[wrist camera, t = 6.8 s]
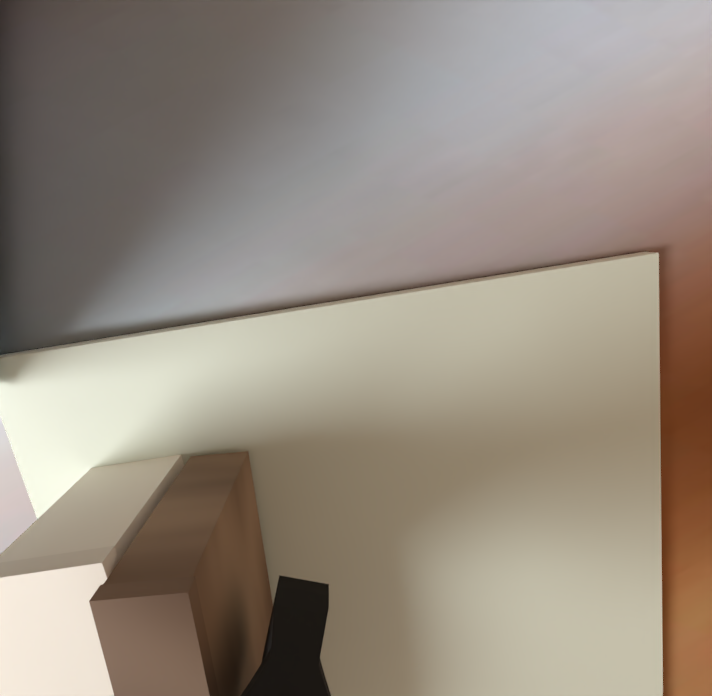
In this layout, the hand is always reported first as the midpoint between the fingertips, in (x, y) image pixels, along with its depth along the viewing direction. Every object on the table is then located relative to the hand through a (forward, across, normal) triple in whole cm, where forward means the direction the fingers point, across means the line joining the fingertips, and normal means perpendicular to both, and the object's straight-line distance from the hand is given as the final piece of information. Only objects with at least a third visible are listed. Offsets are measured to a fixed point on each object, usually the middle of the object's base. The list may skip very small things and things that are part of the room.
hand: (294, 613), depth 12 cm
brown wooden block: (+3, +1, +3) cm, 4 cm away
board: (+4, -3, +3) cm, 5 cm away
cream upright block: (+3, +5, 0) cm, 6 cm away
